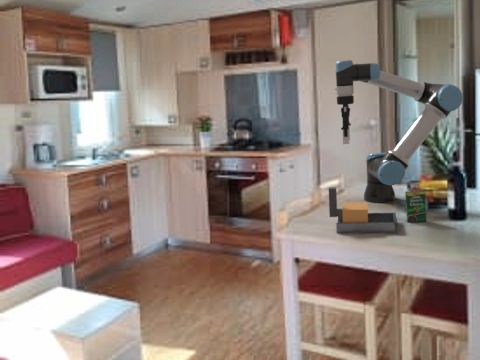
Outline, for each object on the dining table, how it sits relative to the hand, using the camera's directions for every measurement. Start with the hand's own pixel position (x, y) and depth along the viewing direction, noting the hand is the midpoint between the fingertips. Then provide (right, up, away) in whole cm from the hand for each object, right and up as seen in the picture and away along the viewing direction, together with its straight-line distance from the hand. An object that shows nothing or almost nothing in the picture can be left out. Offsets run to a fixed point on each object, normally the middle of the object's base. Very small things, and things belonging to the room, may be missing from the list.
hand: (346, 141), depth 259 cm
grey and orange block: (-4, -36, -24) cm, 44 cm away
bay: (+4, -37, -25) cm, 45 cm away
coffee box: (+25, -35, -22) cm, 48 cm away
